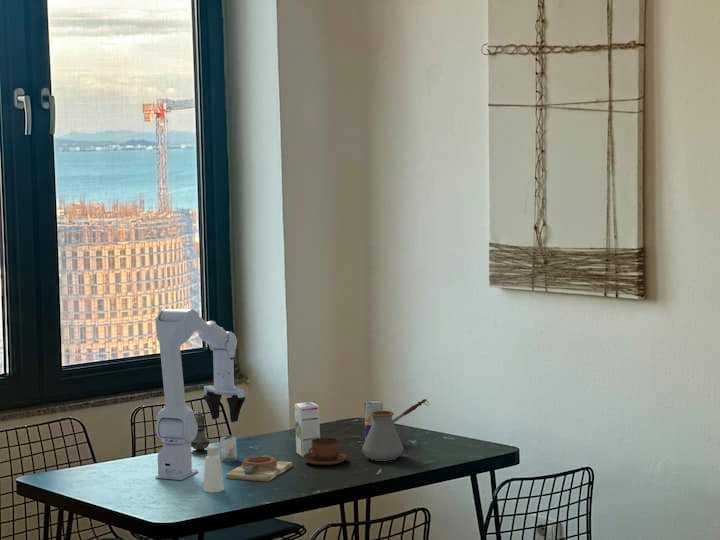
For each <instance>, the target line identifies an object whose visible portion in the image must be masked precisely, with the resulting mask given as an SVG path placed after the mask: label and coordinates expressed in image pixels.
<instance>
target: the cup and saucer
mask: <svg viewBox="0 0 720 540" xmlns="http://www.w3.org/2000/svg"><path fill="white" fill-rule="evenodd" d="M311 450H312V452H311ZM347 457H348V455H347V453H345V452H343V451H342V452H341V451H339V439H337V438H332V437H320V438H318V439H314V440H312V447H311V448H310V449H309V452H308V454H305V455H304V457H303V460H304V461H306V463H308V464H311V465H317V466H331V465H337V464H340V463H343V462H345V461H346V460H347Z"/></svg>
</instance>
